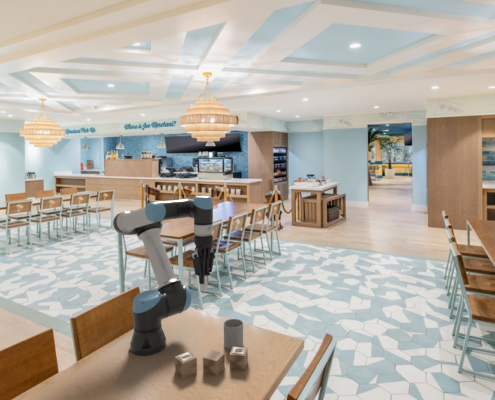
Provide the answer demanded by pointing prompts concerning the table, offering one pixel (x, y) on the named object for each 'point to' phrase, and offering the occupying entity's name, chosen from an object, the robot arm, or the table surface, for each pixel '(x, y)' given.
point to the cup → (233, 333)
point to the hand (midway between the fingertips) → (203, 290)
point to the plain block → (213, 362)
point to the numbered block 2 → (238, 358)
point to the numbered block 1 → (186, 364)
